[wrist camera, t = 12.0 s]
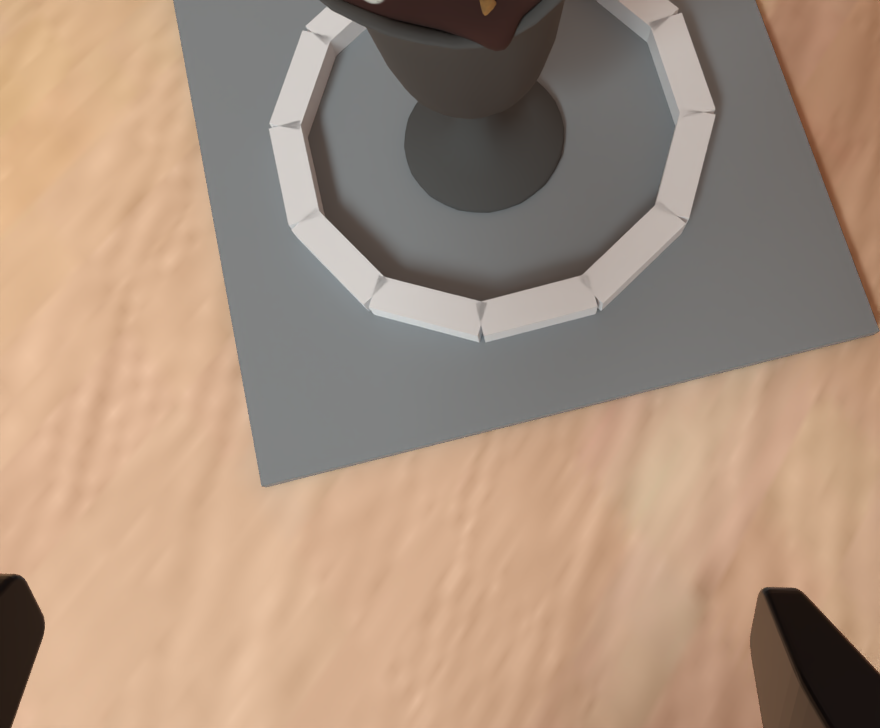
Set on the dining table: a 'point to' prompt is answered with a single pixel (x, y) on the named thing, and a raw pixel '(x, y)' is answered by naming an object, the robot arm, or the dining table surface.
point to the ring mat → (505, 229)
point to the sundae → (471, 93)
